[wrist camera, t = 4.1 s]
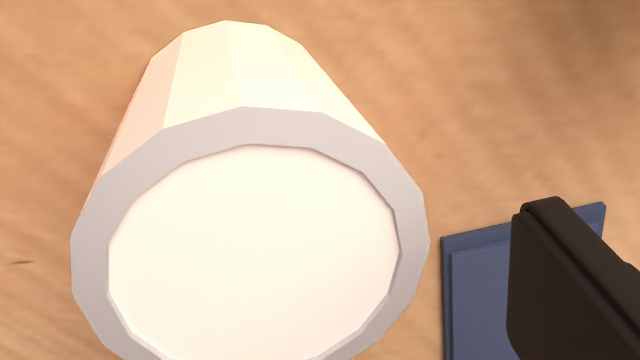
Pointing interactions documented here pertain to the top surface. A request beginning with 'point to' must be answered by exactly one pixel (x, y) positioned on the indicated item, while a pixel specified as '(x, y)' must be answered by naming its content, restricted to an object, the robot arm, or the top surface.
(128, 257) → the cream tapered cup
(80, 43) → the top surface
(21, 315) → the top surface
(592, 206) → the blue flat rectangular slab
